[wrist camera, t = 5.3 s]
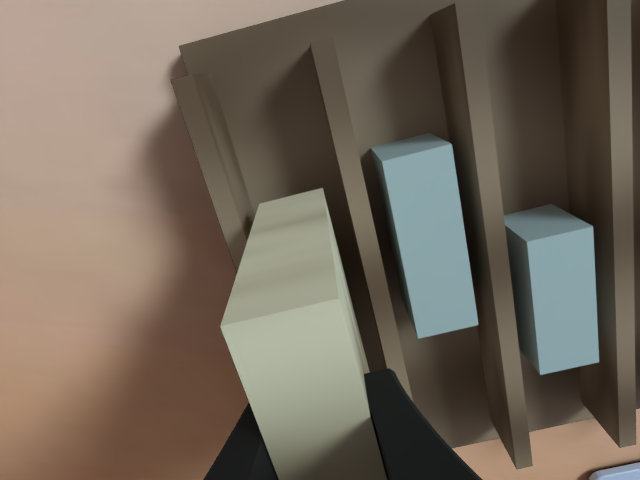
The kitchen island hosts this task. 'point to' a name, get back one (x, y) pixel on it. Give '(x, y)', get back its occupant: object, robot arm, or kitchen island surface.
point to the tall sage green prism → (302, 345)
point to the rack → (471, 170)
